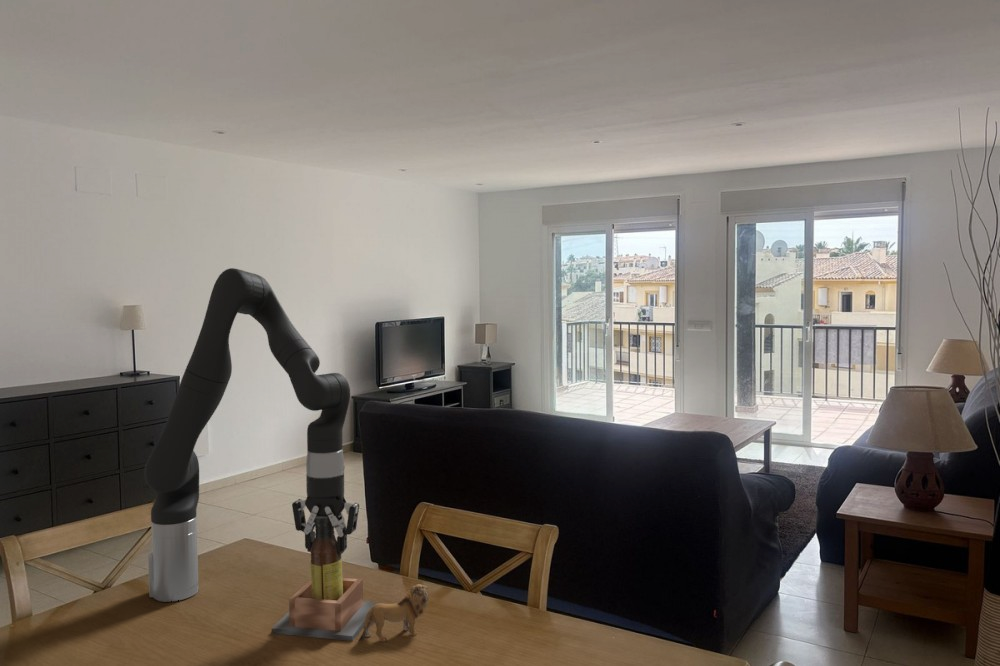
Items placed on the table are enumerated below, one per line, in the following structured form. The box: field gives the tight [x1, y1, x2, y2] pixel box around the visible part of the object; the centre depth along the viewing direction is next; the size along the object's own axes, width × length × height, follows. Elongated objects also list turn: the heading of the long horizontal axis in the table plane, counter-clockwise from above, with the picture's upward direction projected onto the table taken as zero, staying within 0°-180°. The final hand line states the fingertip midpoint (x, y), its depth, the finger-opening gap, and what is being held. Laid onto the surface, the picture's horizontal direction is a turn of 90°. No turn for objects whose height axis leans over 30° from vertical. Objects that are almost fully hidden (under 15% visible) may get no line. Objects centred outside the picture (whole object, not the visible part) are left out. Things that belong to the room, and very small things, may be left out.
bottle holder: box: [271, 577, 380, 642], centre depth 149 cm, size 17×15×6 cm
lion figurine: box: [358, 583, 430, 642], centre depth 143 cm, size 15×5×9 cm, turn 120°
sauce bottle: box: [309, 516, 343, 601], centre depth 148 cm, size 7×6×20 cm
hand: (326, 551), depth 148 cm, fingers closed on sauce bottle, 6 cm apart
